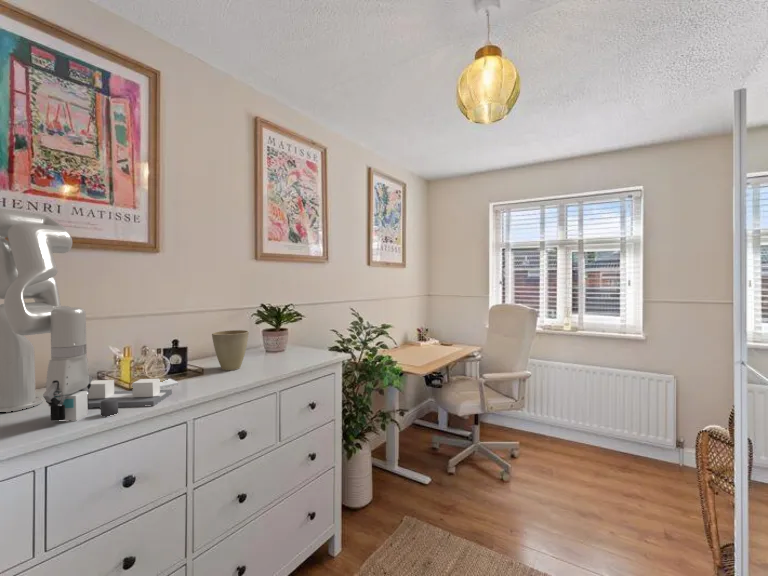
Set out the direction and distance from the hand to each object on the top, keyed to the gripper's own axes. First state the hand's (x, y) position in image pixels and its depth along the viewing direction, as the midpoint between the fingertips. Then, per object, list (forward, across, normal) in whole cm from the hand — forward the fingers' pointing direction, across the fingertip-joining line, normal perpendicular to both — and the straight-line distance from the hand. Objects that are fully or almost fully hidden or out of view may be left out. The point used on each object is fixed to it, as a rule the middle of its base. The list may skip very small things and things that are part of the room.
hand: (70, 413), depth 103 cm
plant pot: (+1, -55, +27) cm, 61 cm away
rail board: (+1, -14, +6) cm, 15 cm away
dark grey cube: (+1, -2, +9) cm, 9 cm away
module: (+1, 0, 0) cm, 1 cm away
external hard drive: (+2, -30, +8) cm, 31 cm away
